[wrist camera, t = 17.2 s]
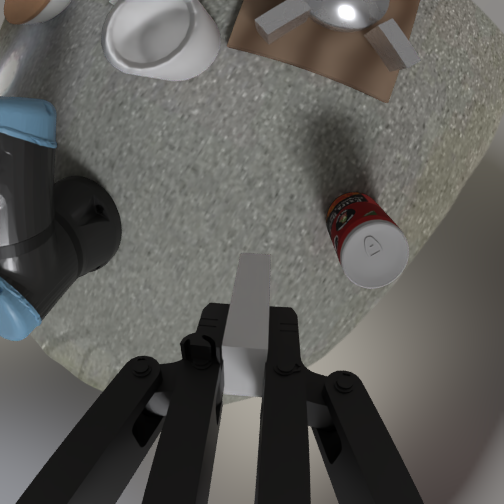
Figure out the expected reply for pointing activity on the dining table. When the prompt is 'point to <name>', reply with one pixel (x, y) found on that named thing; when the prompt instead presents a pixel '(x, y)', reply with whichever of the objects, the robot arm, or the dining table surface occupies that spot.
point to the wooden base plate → (326, 47)
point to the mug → (160, 38)
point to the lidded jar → (33, 10)
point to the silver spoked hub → (343, 25)
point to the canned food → (366, 241)
